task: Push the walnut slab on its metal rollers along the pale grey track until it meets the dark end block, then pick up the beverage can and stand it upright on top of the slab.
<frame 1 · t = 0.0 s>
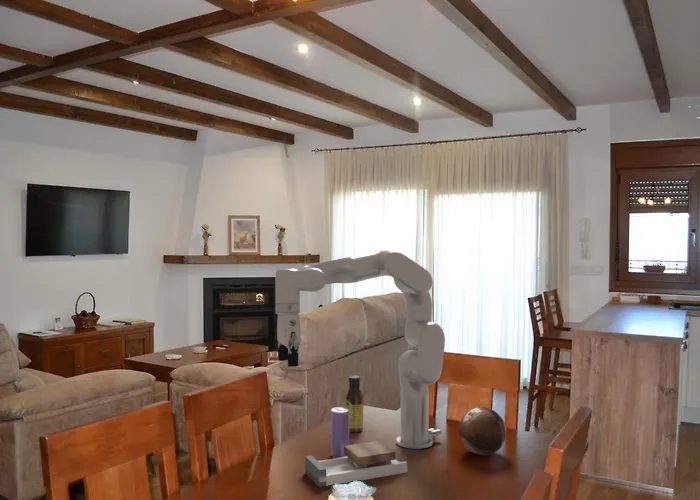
hand: (288, 363, 195), 31 cm above the table, tool pointing down, fingers open, 9 cm apart
slab: (369, 456, 189), point 4 cm above the table, slide at 10.0 cm
wooden sphere: (482, 454, 203), on the table
sauce bottle: (354, 431, 228), on the table
beverage can: (339, 456, 202), on the table
track: (356, 472, 188), on the table
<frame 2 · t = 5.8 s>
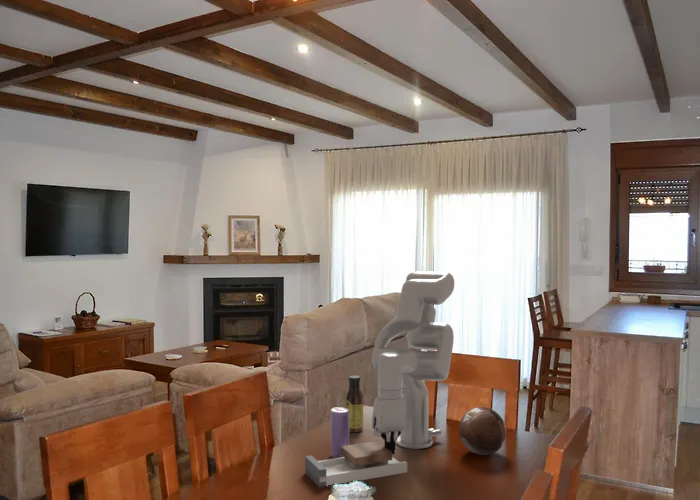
hand: (390, 453, 192), 4 cm above the table, tool pointing down, fingers closed
slab: (366, 457, 189), point 4 cm above the table, slide at 8.9 cm, touching gripper
everything else where it was.
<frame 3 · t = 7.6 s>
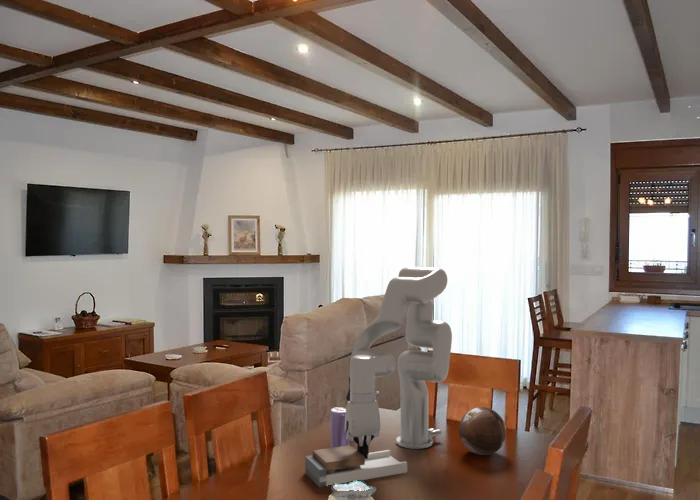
hand: (363, 457, 188), 4 cm above the table, tool pointing down, fingers closed
slab: (338, 461, 185), point 4 cm above the table, slide at -0.1 cm, touching gripper
everything else where it was.
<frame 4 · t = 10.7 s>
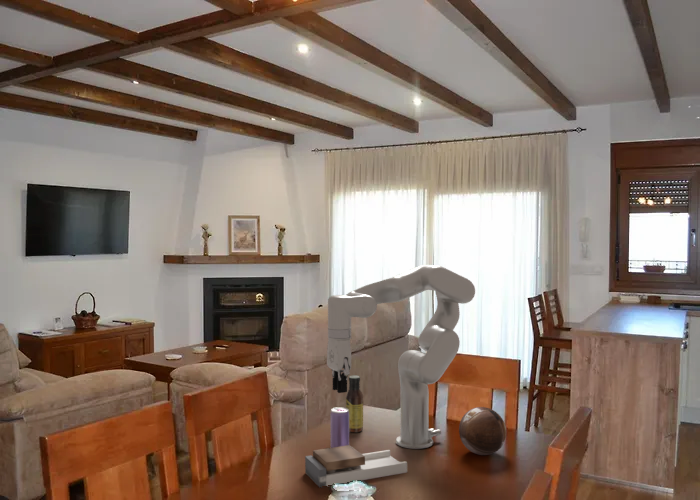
hand: (339, 390, 201), 21 cm above the table, tool pointing down, fingers open, 3 cm apart
slab: (338, 461, 185), point 4 cm above the table, slide at 0.0 cm
everything else where it was.
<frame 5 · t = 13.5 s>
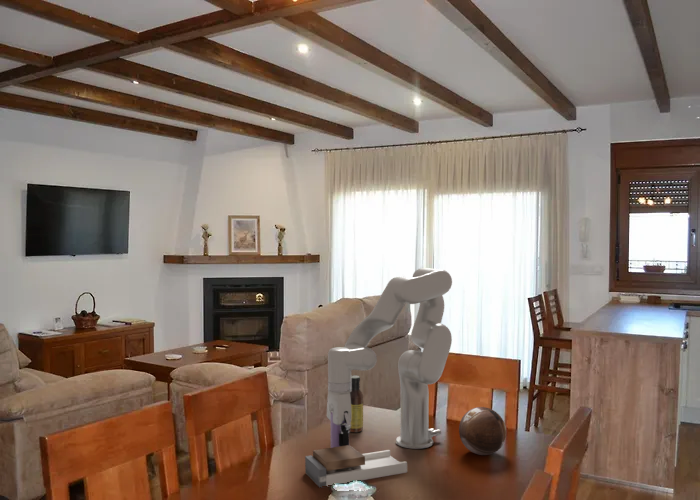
hand: (339, 441, 202), 5 cm above the table, tool pointing down, fingers closed on beverage can, 5 cm apart
beverage can: (339, 456, 202), on the table, touching gripper
everything else where it was.
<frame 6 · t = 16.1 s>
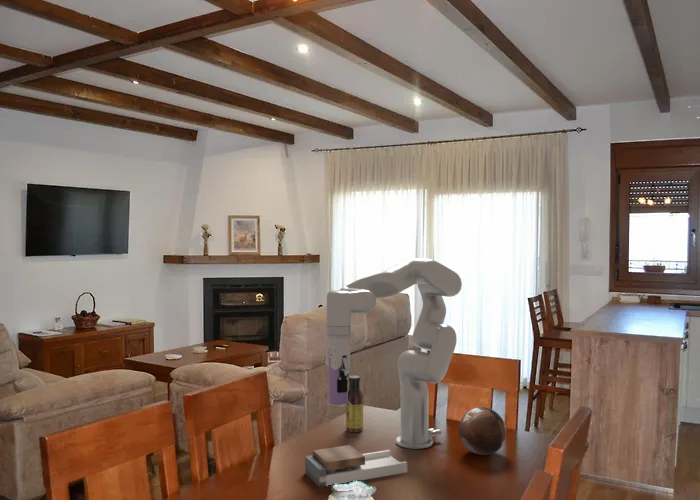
hand: (338, 389, 192), 24 cm above the table, tool pointing down, fingers closed on beverage can, 5 cm apart
beverage can: (337, 404, 192), point 19 cm above the table, touching gripper
everything else where it was.
when the fingers open (13 cm above the table, at t = 19.0 s): beverage can drops 2 cm, resting on slab.
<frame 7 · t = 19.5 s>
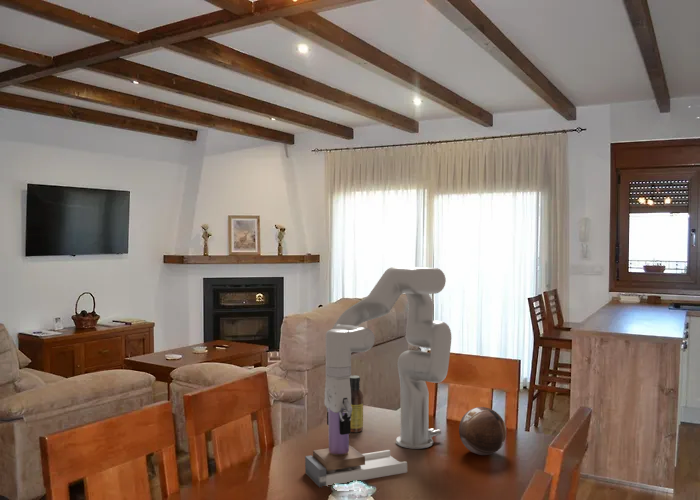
hand: (338, 429, 185), 14 cm above the table, tool pointing down, fingers open, 9 cm apart
slab: (338, 461, 185), point 4 cm above the table, slide at 0.0 cm, touching beverage can
beverage can: (338, 453, 185), point 6 cm above the table, touching slab
everything else where it was.
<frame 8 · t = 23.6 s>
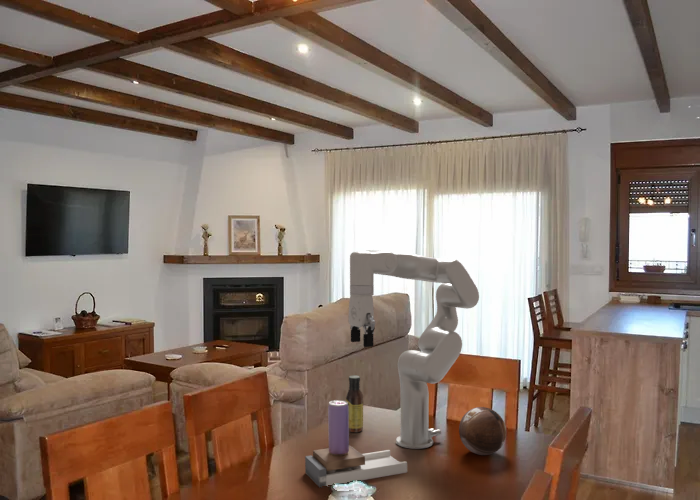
hand: (361, 344, 200), 36 cm above the table, tool pointing down, fingers open, 9 cm apart
nothing on the table moved.
at the end: slab slide at 0.0 cm; beverage can inside the target area (0.3 cm from its centre), point 6.4 cm above the table; beverage can tilted 1° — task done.
